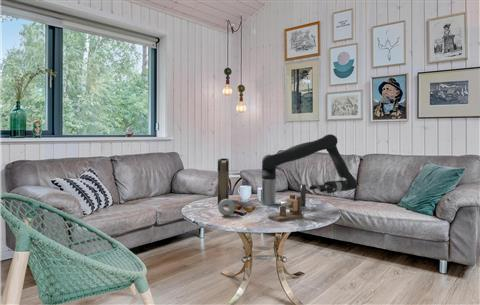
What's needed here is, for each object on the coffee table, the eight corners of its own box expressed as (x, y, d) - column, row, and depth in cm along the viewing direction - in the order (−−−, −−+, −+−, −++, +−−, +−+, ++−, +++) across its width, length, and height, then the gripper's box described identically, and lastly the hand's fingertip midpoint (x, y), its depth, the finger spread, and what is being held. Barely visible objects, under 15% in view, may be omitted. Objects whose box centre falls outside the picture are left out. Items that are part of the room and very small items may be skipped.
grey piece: (279, 209, 204) (280, 186, 203) (302, 205, 215) (303, 184, 214) (283, 210, 202) (283, 187, 201) (306, 206, 212) (307, 184, 212)
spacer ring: (286, 208, 210) (286, 198, 209) (288, 208, 211) (289, 198, 211) (294, 210, 204) (295, 200, 204) (297, 210, 205) (297, 200, 205)
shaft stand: (268, 218, 203) (268, 197, 203) (292, 214, 214) (292, 194, 214) (278, 221, 196) (279, 200, 195) (303, 217, 207) (303, 196, 206)
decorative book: (228, 205, 237) (228, 160, 235) (217, 205, 237) (217, 160, 235) (229, 198, 260) (229, 157, 258) (219, 198, 260) (219, 157, 258)
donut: (218, 216, 207) (218, 199, 206) (217, 215, 210) (217, 198, 209) (235, 216, 208) (235, 199, 207) (234, 214, 211) (234, 198, 211)
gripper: (324, 179, 233) (306, 181, 224) (342, 182, 222) (324, 184, 212) (323, 191, 234) (306, 193, 224) (341, 194, 222) (324, 197, 213)
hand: (315, 189), depth 218 cm, fingers open, 8 cm apart
